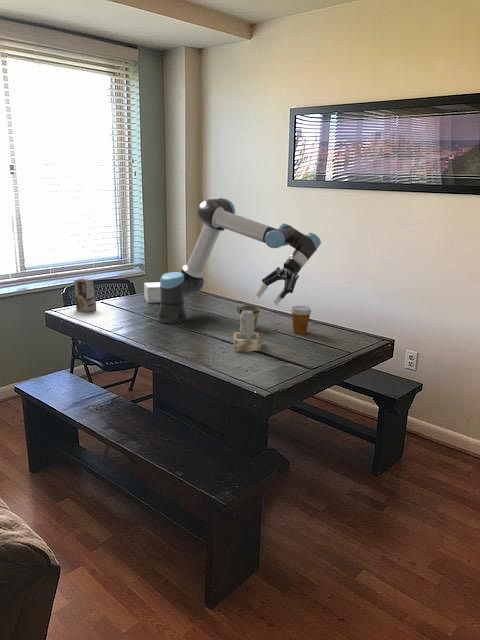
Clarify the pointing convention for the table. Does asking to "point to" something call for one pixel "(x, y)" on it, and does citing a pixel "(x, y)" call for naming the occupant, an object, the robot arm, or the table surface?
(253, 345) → the wooden box
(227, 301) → the table surface
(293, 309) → the disposable coffee cup
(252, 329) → the energy drink can
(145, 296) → the supplement box
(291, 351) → the table surface
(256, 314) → the ceramic cup
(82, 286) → the coffee box
